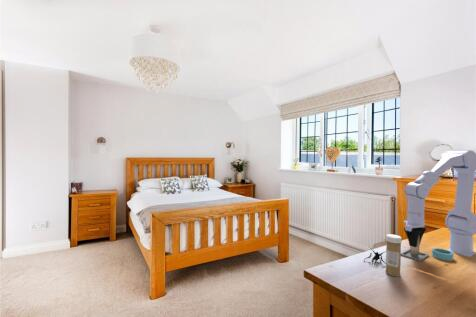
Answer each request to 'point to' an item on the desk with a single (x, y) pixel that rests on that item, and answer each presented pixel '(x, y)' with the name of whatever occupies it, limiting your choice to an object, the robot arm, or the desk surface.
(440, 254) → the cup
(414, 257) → the tray
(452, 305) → the desk surface
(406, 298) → the desk surface
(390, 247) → the sprinkles bottle
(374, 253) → the creature
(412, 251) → the pin
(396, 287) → the desk surface
